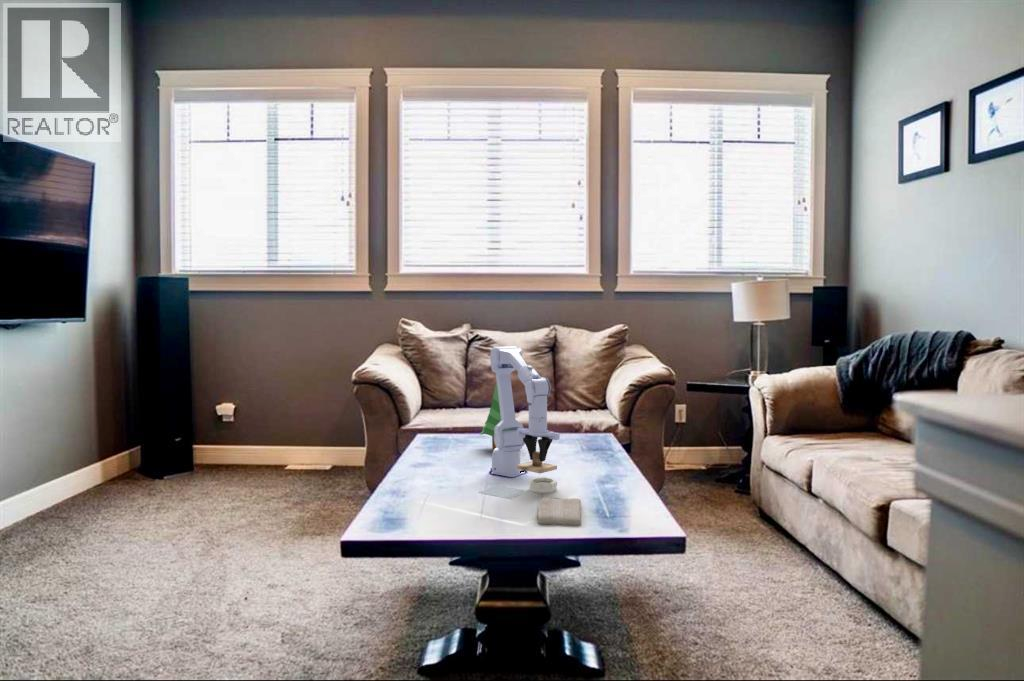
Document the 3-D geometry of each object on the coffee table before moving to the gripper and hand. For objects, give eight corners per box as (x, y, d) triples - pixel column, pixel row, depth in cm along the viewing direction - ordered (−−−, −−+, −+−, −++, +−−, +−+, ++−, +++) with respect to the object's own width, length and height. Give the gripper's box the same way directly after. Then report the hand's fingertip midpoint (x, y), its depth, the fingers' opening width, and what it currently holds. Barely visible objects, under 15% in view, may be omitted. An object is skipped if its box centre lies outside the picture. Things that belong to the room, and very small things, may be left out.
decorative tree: (472, 449, 256) (471, 374, 254) (501, 443, 266) (501, 371, 264) (494, 455, 246) (493, 378, 244) (523, 449, 256) (523, 374, 254)
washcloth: (580, 505, 188) (580, 495, 188) (582, 527, 170) (582, 516, 170) (540, 504, 189) (540, 494, 189) (537, 526, 171) (537, 515, 171)
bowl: (524, 492, 200) (524, 481, 200) (538, 485, 207) (538, 475, 207) (548, 496, 195) (548, 486, 195) (561, 489, 202) (561, 479, 202)
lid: (516, 468, 199) (517, 452, 199) (533, 464, 206) (534, 448, 206) (540, 473, 193) (540, 456, 193) (556, 469, 200) (557, 452, 200)
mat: (478, 494, 197) (478, 492, 197) (496, 486, 206) (496, 484, 206) (510, 501, 191) (510, 499, 191) (528, 492, 199) (528, 490, 199)
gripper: (511, 416, 200) (511, 459, 201) (551, 421, 192) (551, 466, 193) (523, 413, 206) (523, 454, 207) (563, 417, 198) (562, 461, 198)
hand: (537, 460), depth 200 cm, fingers closed on lid, 3 cm apart
